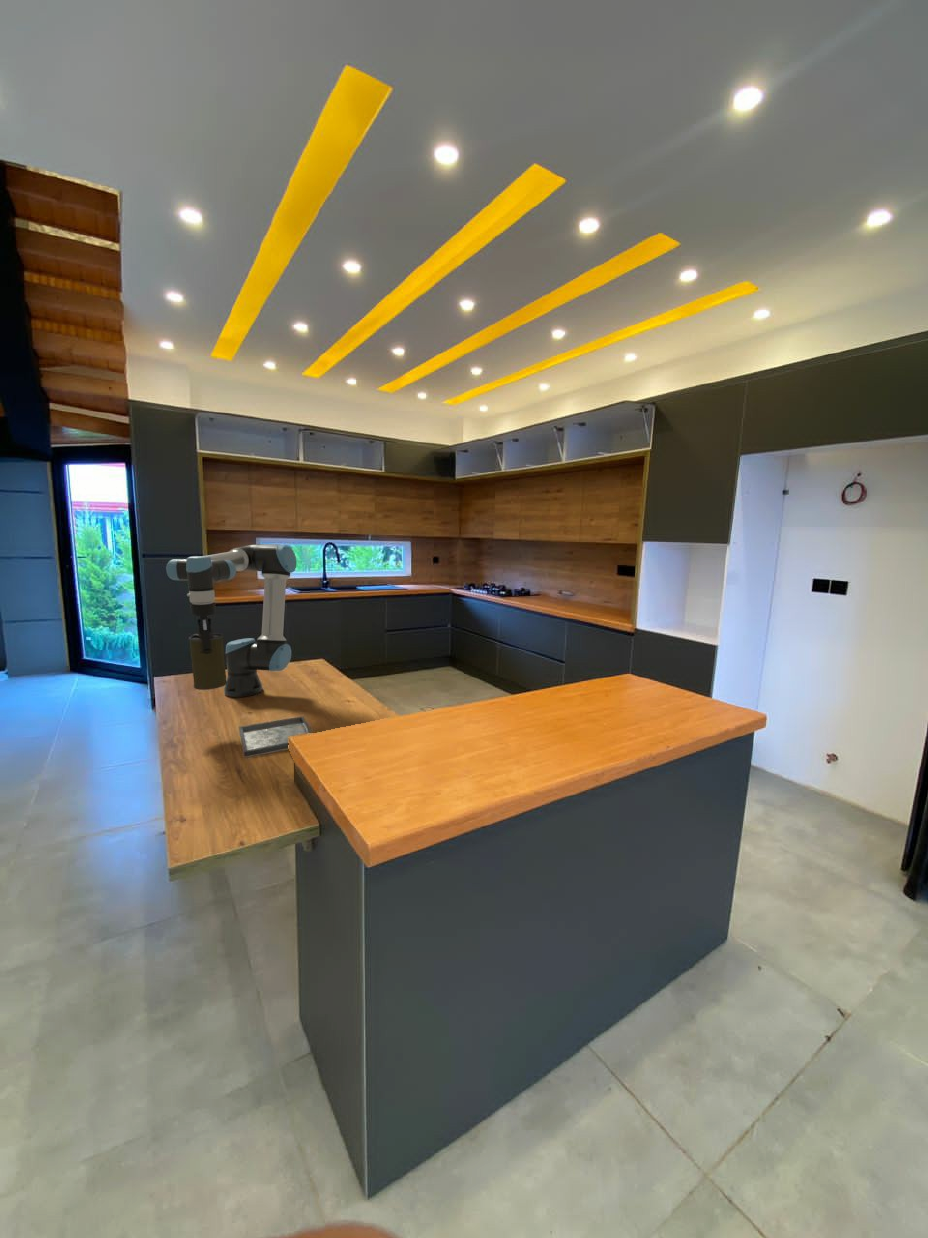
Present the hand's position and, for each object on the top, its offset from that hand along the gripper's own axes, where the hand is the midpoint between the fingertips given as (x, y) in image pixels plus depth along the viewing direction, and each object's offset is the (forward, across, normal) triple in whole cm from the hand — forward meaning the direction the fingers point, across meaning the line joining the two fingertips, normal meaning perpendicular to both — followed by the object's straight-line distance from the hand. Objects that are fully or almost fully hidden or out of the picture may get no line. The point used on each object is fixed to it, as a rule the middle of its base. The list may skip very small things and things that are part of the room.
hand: (208, 668), depth 167 cm
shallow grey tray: (+23, +16, +19) cm, 34 cm away
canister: (+6, 0, 0) cm, 6 cm away
